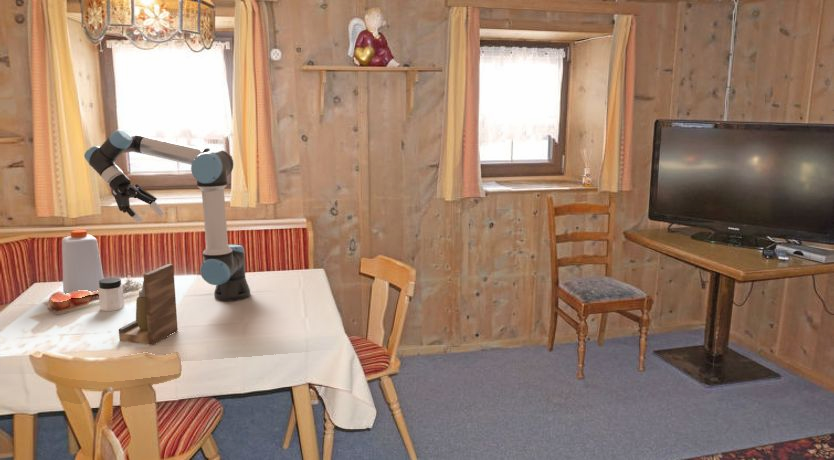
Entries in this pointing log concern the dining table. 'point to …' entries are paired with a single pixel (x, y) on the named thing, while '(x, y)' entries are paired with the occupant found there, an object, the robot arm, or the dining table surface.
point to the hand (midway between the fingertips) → (151, 218)
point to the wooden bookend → (155, 309)
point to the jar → (111, 294)
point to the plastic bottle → (81, 262)
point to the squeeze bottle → (141, 310)
